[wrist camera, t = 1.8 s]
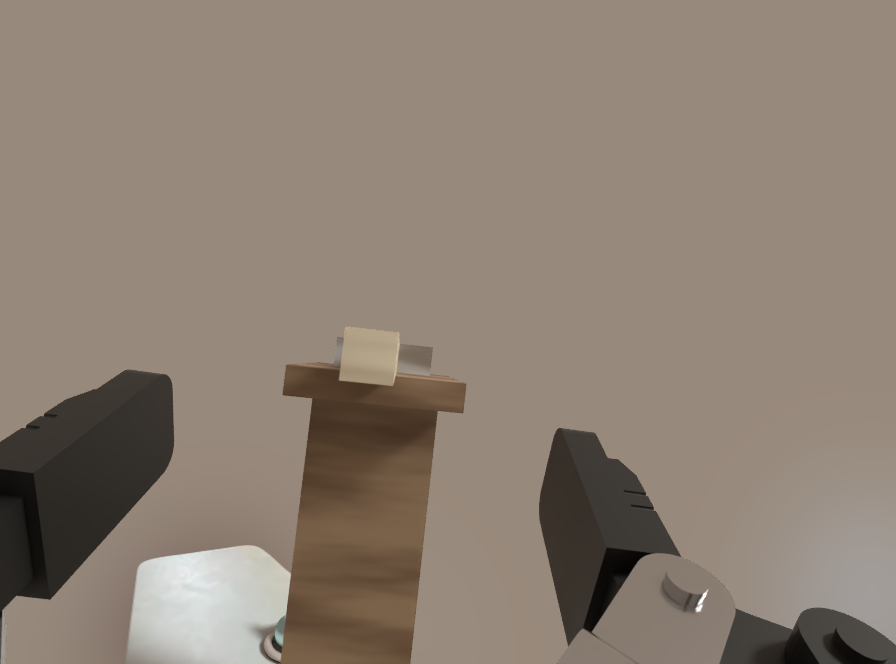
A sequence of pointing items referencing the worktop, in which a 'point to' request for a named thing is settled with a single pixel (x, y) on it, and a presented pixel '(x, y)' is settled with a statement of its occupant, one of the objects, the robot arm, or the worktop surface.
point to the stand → (361, 514)
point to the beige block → (378, 357)
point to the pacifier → (276, 636)
